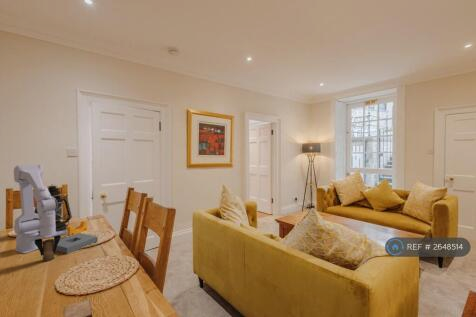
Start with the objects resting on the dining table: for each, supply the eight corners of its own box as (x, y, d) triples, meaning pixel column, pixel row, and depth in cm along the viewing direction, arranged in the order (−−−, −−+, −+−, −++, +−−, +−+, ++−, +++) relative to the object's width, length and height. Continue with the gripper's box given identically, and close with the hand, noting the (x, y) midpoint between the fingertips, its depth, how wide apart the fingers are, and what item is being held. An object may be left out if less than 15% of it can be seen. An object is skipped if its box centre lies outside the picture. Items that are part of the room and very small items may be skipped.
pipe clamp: (81, 230, 147) (81, 220, 146) (87, 230, 146) (86, 220, 146) (64, 237, 135) (63, 226, 135) (70, 237, 134) (69, 227, 134)
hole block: (47, 248, 118) (47, 243, 118) (79, 237, 133) (78, 232, 133) (67, 253, 112) (67, 247, 112) (97, 241, 127) (97, 236, 127)
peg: (41, 260, 105) (40, 241, 105) (51, 256, 109) (50, 238, 109) (46, 262, 104) (45, 242, 104) (56, 258, 108) (55, 239, 107)
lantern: (33, 238, 133) (32, 187, 132) (31, 232, 143) (29, 185, 142) (75, 229, 147) (74, 183, 146) (69, 224, 158) (68, 181, 157)
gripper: (25, 230, 98) (26, 261, 99) (67, 223, 107) (68, 252, 108) (27, 226, 104) (28, 255, 104) (66, 220, 113) (67, 247, 113)
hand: (48, 253), depth 106 cm, fingers closed on peg, 4 cm apart
